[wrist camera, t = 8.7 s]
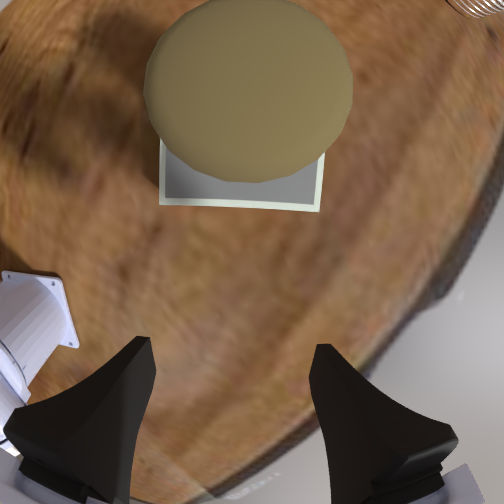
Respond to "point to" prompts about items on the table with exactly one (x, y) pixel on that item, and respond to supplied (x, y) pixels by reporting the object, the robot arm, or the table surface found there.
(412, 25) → the table surface
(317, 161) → the stand
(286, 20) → the cork
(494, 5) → the water bottle
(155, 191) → the table surface
